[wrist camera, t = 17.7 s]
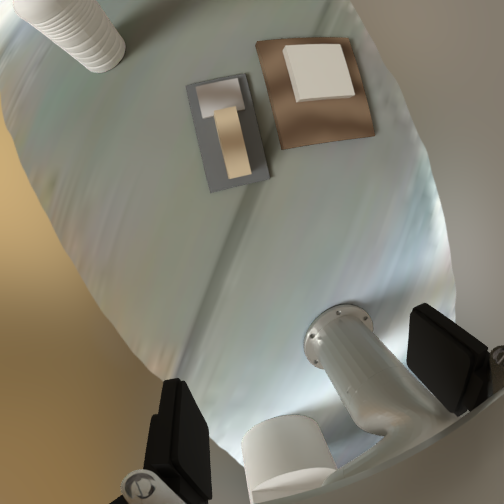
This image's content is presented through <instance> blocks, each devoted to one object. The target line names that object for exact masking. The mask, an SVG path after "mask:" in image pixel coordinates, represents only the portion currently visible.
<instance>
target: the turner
mask: <svg viewBox="0 0 504 504" xmlns="http://www.w3.org/2000/svg"><path fill="white" fill-rule="evenodd" d="M196 91H197V96H198V100H199V105H200V109H201V113H202V118H203V119H206V118H210V117H214V119H215V124H216V128H217V132H218V137H219V141H220V145H221V149H222V154H223V158H224V162H225V166H226V170H227V175H228V179H232V178H237V177H241V176H245V175H250V174H252V173H251V169H250V165H249V160H248V156H247V152H246V147H245V143H244V139H243V135H242V130H241V126H240V122H239V118H238V113H237V111H243V110H245V106H244V102H243V98H242V94H241V90H240V86H239V82H238V78H235V79H230V80H224V81H219V82H215V83H210V84H205V85H201V86H197V87H196Z"/></svg>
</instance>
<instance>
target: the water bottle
mask: <svg viewBox="0 0 504 504" xmlns="http://www.w3.org/2000/svg"><path fill="white" fill-rule="evenodd" d="M13 8H14V10H15V12H16V14H17V15H18V16H19V17H20V18H22V19H23V20H25V21H26V22H28V23H29V24H30V25H32V26H33V27H35V28H36V29H37V30H39V31H40V32H41V33H43V34H44V35H45V36H47V37H48V38H49V39H51V40H52V41H53V42H54V43H55V44H57V45H58V46H60V47H61V48H62V49H63V50H65V51H66V52H67V53H68V54H70V55H71V56H72V57H73V58H75V59H76V60H78V61H79V62H80V63H81V64H82V65H84V66H85V67H86V68H87V69H88V70H90V71H92V72H96V73H102V72H106V71H107V70H110V69H112V68H114V67H115V66H116V65H117V64H118V63H119V61H121V60H122V58H123V56H124V54H125V49H126V46H125V42H124V40H123V38H122V37H121V36H120V34H119V33H118V31H117V30H116V29H115V27H114V25H113V24H112V23H111V21H110V20H109V18H108V17H107V16H106V14H105V12H104V11H103V10H102V8H101V6H100V5H99V4H98V2H97V1H96V0H13Z"/></svg>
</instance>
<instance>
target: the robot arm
mask: <svg viewBox="0 0 504 504" xmlns="http://www.w3.org/2000/svg"><path fill="white" fill-rule="evenodd" d="M487 350H488V347H487V346H486V345H484V344H483V343H482V342H480V341H479V340H478V339H476V338H475V337H474V336H472V335H471V334H469V333H468V332H467V331H465V330H464V329H462V328H461V327H460V326H458V325H457V324H456V323H454V322H453V321H451V320H450V319H449V318H447V317H446V316H444V315H443V314H441V313H440V312H439V311H437V310H436V309H434V308H433V307H431V306H430V305H428V304H427V303H423V304H421V305H418V306H416V307H414V308H413V310H412V312H411V314H410V324H409V339H408V350H407V365H408V367H409V369H410V370H411V371H412V372H413V373H414V374H415V375H416V376H417V377H418V378H419V379H420V380H421V381H422V383H423V384H424V385H425V386H426V387H427V388H428V389H429V390H430V391H431V392H432V393H433V395H434V396H433V395H432V394H431V393H430V392H429V391H428V390H427V389H426V388H425V387H424V386H423V385H422V384H421V383H420V382H419V381H418V380H417V379H416V378H415V377H414V376H413V375H412V374H411V373H410V372H409V370H407V368H406V367H405V366H404V365H403V364H402V363H401V362H400V361H399V360H398V359H397V358H396V356H395V355H394V354H393V353H392V352H391V351H390V350H389V349H388V348H387V347H386V346H385V345H384V344H383V343H382V342H381V341H380V340H379V338H378V337H377V336H376V335H375V334H374V333H373V323H372V320H371V317H370V316H369V315H368V313H367V312H366V311H365V310H363V309H362V308H360V307H358V306H355V305H349V304H346V305H339V306H335V307H333V308H331V309H328V310H327V311H325V312H324V313H322V314H321V315H320V316H318V317H317V318H316V319H315V320H314V321H313V323H312V324H311V325H310V327H309V328H308V330H307V332H306V335H305V338H304V352H305V355H306V357H307V359H308V360H309V362H310V363H311V364H312V365H314V366H315V367H317V368H320V369H324V370H325V372H326V373H327V375H328V377H329V379H330V380H331V382H332V384H333V386H334V387H335V389H336V391H337V393H338V395H339V396H340V398H341V400H342V402H343V403H344V405H345V407H346V409H347V410H348V412H349V414H350V416H351V418H352V419H353V421H354V422H355V424H356V425H357V426H358V427H359V428H361V429H362V430H364V431H366V432H368V433H371V434H375V435H379V436H385V437H384V438H383V439H382V440H380V441H379V442H378V443H376V445H374V446H373V447H371V448H370V449H369V450H367V451H366V452H364V453H363V454H361V455H360V456H358V457H356V458H355V459H353V460H352V461H350V462H349V463H347V464H346V465H344V466H342V467H341V468H339V469H338V470H336V471H335V472H333V473H332V474H331V475H329V476H328V477H327V478H326V480H325V481H324V482H323V484H322V487H319V488H316V489H312V490H309V491H305V492H302V493H298V494H295V495H291V496H287V497H283V498H278V499H274V500H270V501H265V502H261V503H256V504H504V345H501V346H497V347H495V348H494V349H493V350H491V352H490V353H489V352H488V351H487ZM467 409H468V410H469V411H470V412H469V413H468V414H466V415H465V416H463V417H461V416H460V415H462V414H463V413H465V412H466V411H467ZM209 449H210V448H209V429H208V426H207V423H206V421H205V419H204V417H203V416H202V414H201V412H200V410H199V408H198V406H197V404H196V402H195V400H194V398H193V396H192V394H191V392H190V390H189V388H188V386H187V384H186V382H185V381H181V380H180V379H179V378H175V379H169V380H165V381H164V382H163V388H162V393H161V400H160V405H159V412H158V414H155V415H153V416H152V418H151V423H150V428H149V434H148V441H147V447H146V453H145V461H144V467H143V469H140V470H136V471H133V472H131V473H129V474H128V475H127V476H126V477H125V478H124V479H123V481H122V483H121V492H122V495H121V496H120V497H118V498H117V499H115V500H114V501H113V502H111V503H110V504H208V500H211V499H212V484H211V469H210V450H209Z"/></svg>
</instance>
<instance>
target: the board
mask: <svg viewBox="0 0 504 504" xmlns="http://www.w3.org/2000/svg"><path fill="white" fill-rule="evenodd" d="M305 44H340V45H341V48H342V51H343V55H344V58H345V61H346V64H347V68H348V71H349V74H350V78H351V82H352V85H353V89H354V93H355V95H354V96H352V97H350V98H339V99H326V100H315V101H305V102H296V99H295V95H294V91H293V87H292V84H291V80H290V76H289V72H288V69H287V65H286V61H285V58H284V54H283V51H282V50H283V49H284V47H285V46H286V45H305ZM255 46H256V50H257V53H258V57H259V60H260V64H261V68H262V72H263V75H264V79H265V83H266V87H267V91H268V95H269V99H270V103H271V107H272V111H273V115H274V119H275V123H276V128H277V132H278V136H279V141H280V145H281V150H284V149H290V148H295V147H301V146H307V145H313V144H320V143H326V142H333V141H341V140H348V139H356V138H365V137H372V136H375V133H374V128H373V123H372V119H371V115H370V110H369V106H368V102H367V98H366V94H365V90H364V87H363V83H362V80H361V76H360V73H359V69H358V66H357V63H356V60H355V56H354V53H353V50H352V47H351V44H350V41H349V38H335V37H315V38H289V39H275V40H265V41H257V43H256V45H255Z"/></svg>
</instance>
